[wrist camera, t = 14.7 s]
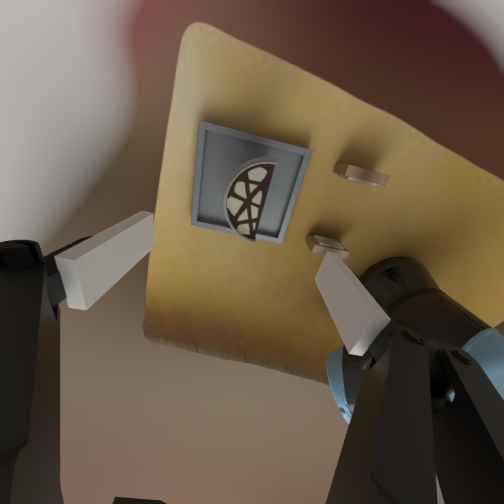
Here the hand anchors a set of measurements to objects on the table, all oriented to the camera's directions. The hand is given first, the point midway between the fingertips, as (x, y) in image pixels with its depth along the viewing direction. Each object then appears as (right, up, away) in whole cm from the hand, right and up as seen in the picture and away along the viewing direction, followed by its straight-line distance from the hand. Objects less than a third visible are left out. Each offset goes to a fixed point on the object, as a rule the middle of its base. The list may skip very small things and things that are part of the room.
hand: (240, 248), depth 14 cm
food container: (0, +11, +20) cm, 23 cm away
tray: (0, +12, +21) cm, 24 cm away
